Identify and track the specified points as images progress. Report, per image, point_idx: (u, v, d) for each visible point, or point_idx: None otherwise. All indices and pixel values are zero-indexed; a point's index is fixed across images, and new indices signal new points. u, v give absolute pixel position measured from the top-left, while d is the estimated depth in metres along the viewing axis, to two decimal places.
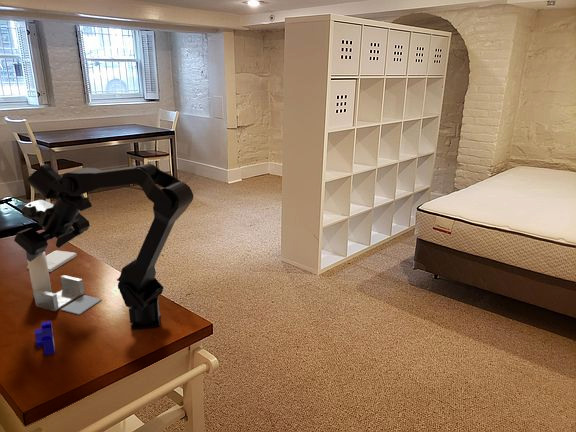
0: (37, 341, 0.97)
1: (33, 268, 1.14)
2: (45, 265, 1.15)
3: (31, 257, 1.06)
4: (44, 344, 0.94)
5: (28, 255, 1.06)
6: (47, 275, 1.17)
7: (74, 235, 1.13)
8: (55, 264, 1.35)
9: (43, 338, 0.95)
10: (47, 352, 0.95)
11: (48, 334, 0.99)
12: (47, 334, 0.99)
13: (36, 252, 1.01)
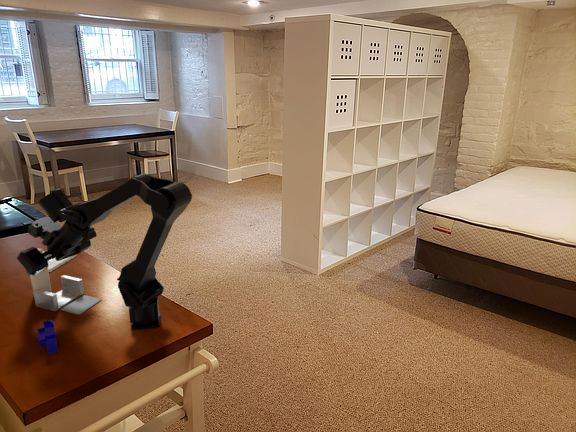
0: (40, 340, 0.98)
1: None
2: None
3: None
4: (47, 343, 0.94)
5: None
6: (47, 275, 1.17)
7: (74, 253, 1.17)
8: (55, 264, 1.35)
9: (46, 336, 0.95)
10: (50, 351, 0.95)
11: (50, 333, 1.00)
12: (49, 333, 1.00)
13: (36, 273, 1.04)
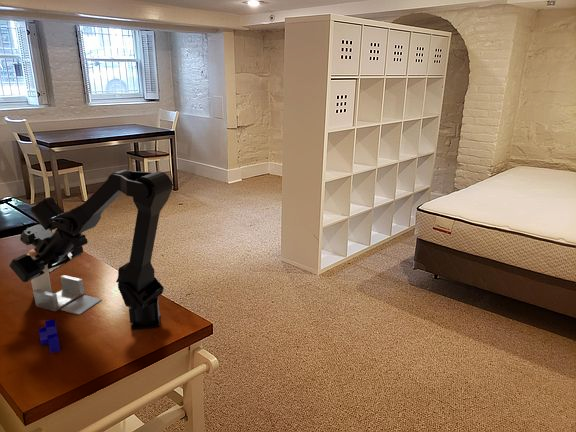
0: (42, 339, 0.98)
1: None
2: None
3: None
4: (50, 342, 0.95)
5: None
6: (47, 275, 1.17)
7: (60, 263, 1.17)
8: None
9: (49, 336, 0.95)
10: (52, 350, 0.96)
11: (52, 333, 1.00)
12: (51, 332, 1.00)
13: (28, 280, 1.06)
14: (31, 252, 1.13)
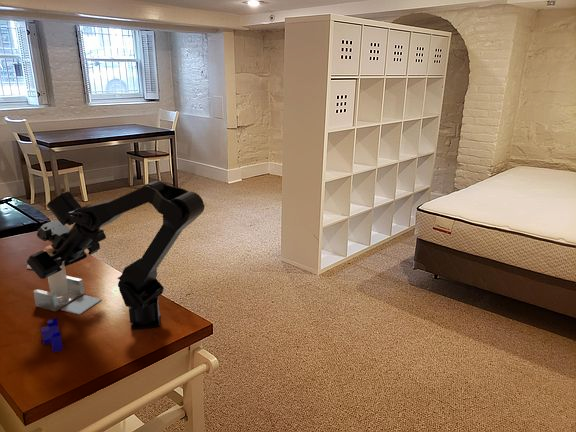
0: (44, 338, 0.98)
1: None
2: (62, 262, 1.13)
3: None
4: (52, 341, 0.95)
5: None
6: (64, 272, 1.14)
7: (77, 260, 1.14)
8: None
9: (51, 335, 0.96)
10: (55, 349, 0.96)
11: (54, 332, 1.00)
12: (54, 331, 1.00)
13: (46, 276, 1.03)
14: (48, 249, 1.11)
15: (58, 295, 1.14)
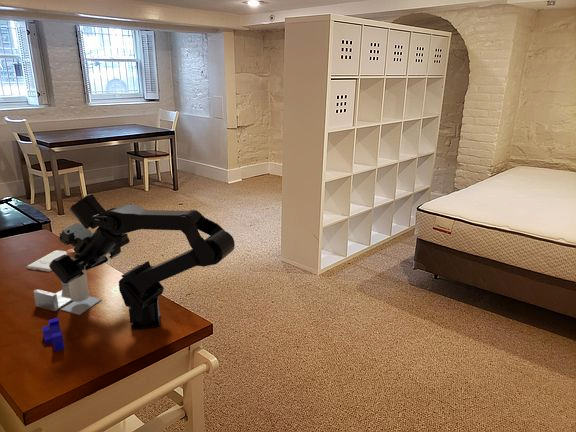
0: (46, 338, 0.99)
1: None
2: None
3: None
4: (54, 340, 0.95)
5: None
6: (85, 276, 1.12)
7: (98, 264, 1.12)
8: None
9: (53, 334, 0.96)
10: (57, 348, 0.96)
11: (56, 331, 1.00)
12: (55, 331, 1.00)
13: (69, 281, 1.01)
14: (69, 252, 1.09)
15: (79, 299, 1.12)
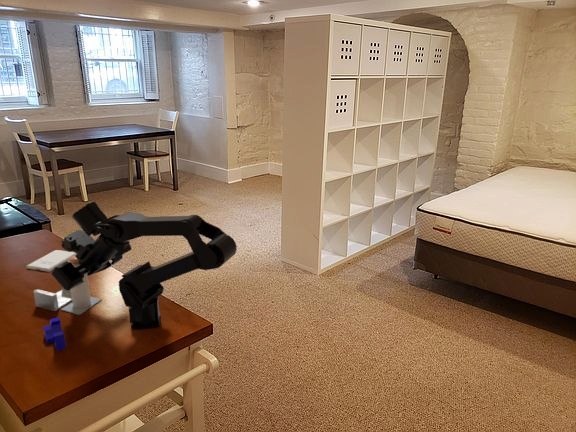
0: (47, 337, 0.99)
1: None
2: None
3: None
4: (56, 340, 0.96)
5: None
6: (87, 283, 1.12)
7: (102, 269, 1.13)
8: (54, 264, 1.35)
9: (54, 333, 0.96)
10: (58, 347, 0.97)
11: (57, 331, 1.01)
12: (56, 330, 1.01)
13: (71, 288, 1.02)
14: (72, 260, 1.09)
15: (81, 306, 1.13)
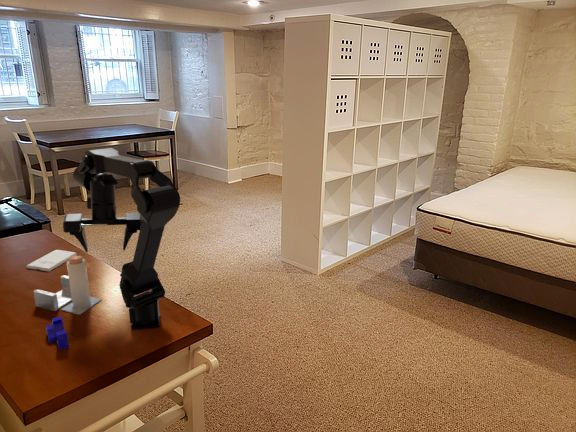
0: (50, 336, 0.99)
1: (73, 276, 1.09)
2: (85, 273, 1.11)
3: None
4: (58, 338, 0.96)
5: None
6: (87, 283, 1.12)
7: (125, 232, 1.12)
8: (54, 263, 1.35)
9: (57, 332, 0.97)
10: (61, 346, 0.97)
11: (59, 330, 1.01)
12: (59, 329, 1.01)
13: (67, 230, 1.07)
14: (71, 260, 1.09)
15: (81, 306, 1.13)
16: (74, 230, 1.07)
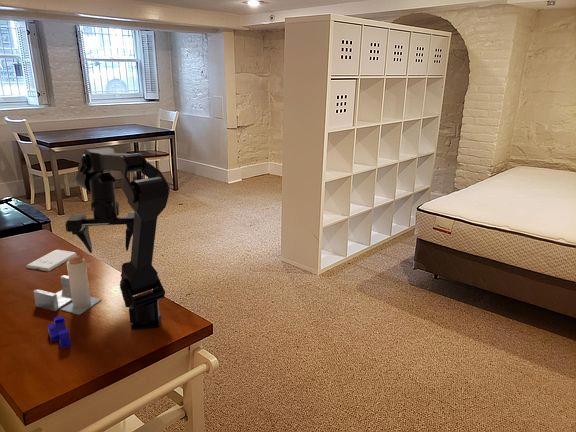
0: (52, 336, 0.99)
1: (73, 276, 1.09)
2: (85, 273, 1.11)
3: None
4: (61, 337, 0.96)
5: None
6: (87, 283, 1.12)
7: None
8: (54, 263, 1.35)
9: (59, 331, 0.97)
10: (63, 345, 0.97)
11: (61, 329, 1.01)
12: (61, 329, 1.01)
13: (69, 229, 1.09)
14: (71, 260, 1.09)
15: (81, 306, 1.13)
16: (76, 229, 1.10)
